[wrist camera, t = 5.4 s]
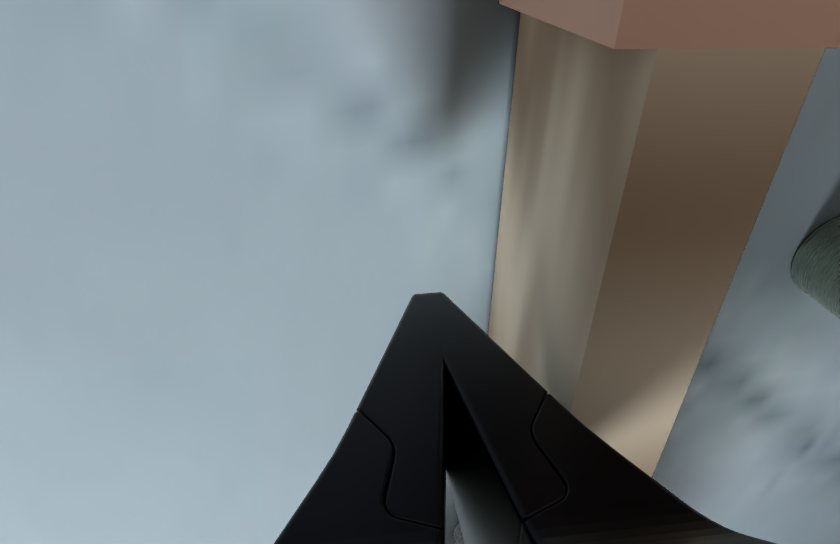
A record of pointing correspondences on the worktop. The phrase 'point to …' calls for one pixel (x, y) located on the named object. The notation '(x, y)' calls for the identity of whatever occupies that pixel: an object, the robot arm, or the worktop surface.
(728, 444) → the worktop surface
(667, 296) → the light brown wooden plank
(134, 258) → the worktop surface
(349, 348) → the worktop surface
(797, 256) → the gate posts
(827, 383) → the worktop surface
